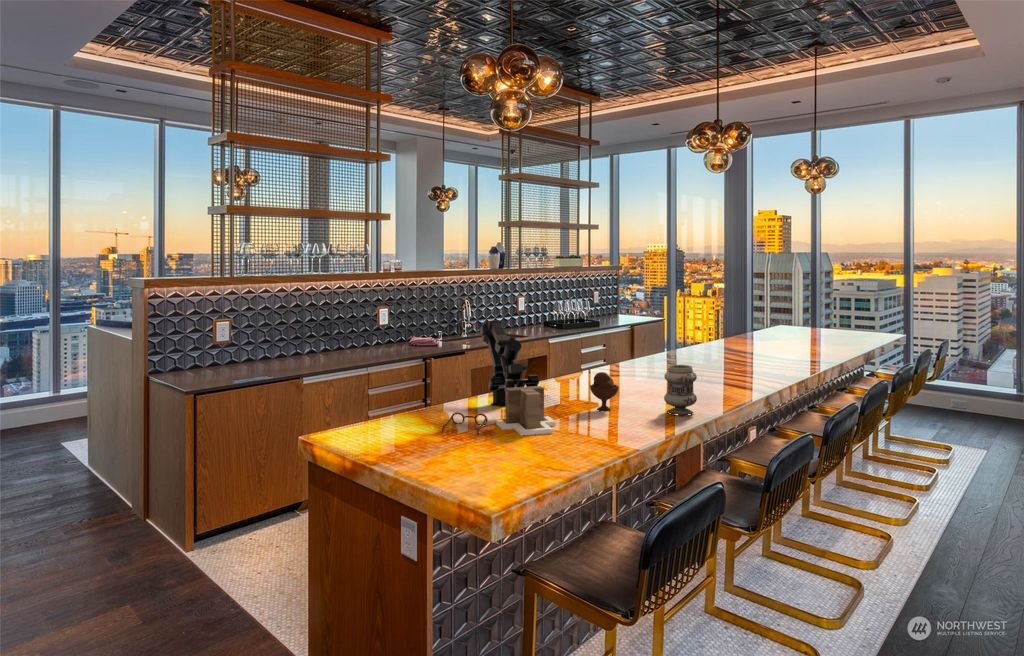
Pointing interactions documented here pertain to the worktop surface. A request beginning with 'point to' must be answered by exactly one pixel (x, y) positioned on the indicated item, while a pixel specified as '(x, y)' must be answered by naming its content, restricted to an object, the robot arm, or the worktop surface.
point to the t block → (525, 406)
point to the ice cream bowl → (603, 389)
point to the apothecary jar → (680, 389)
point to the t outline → (522, 431)
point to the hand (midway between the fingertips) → (518, 402)
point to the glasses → (463, 421)
